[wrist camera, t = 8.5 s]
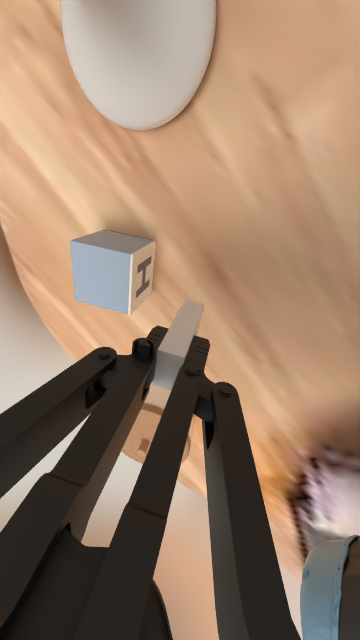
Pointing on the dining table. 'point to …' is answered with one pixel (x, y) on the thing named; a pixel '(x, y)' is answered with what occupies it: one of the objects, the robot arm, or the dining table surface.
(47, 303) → the dining table surface
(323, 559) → the robot arm
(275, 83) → the dining table surface
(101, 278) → the block
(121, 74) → the flower in vase
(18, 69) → the dining table surface
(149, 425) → the lidded jar
